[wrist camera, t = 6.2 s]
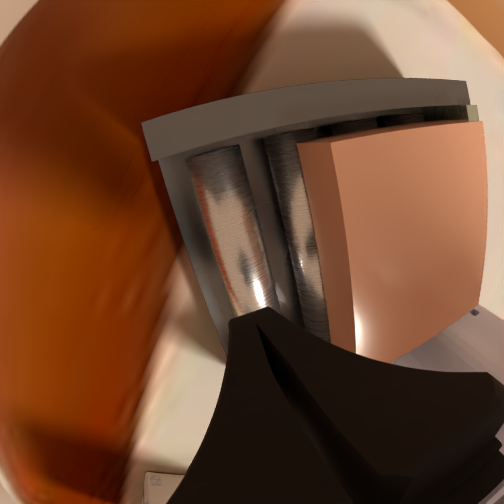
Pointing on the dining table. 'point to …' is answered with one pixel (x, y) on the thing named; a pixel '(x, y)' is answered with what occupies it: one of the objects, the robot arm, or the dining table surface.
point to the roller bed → (273, 184)
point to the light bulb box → (159, 487)
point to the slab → (398, 230)
